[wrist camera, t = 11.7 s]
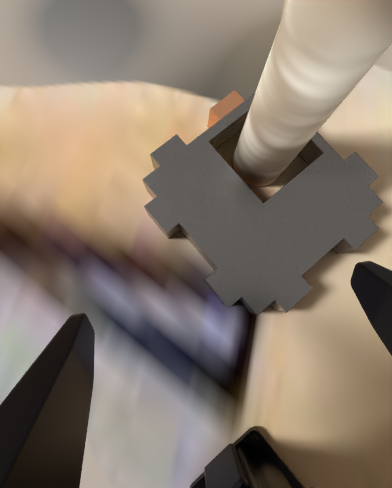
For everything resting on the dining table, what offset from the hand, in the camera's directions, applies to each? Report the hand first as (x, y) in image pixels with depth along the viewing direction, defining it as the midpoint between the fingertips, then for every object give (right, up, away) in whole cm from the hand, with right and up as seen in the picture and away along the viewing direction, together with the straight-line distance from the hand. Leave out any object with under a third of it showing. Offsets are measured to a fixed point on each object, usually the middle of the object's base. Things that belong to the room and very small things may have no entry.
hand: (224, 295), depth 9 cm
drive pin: (+4, +9, +15) cm, 18 cm away
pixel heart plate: (+4, +5, +15) cm, 16 cm away
